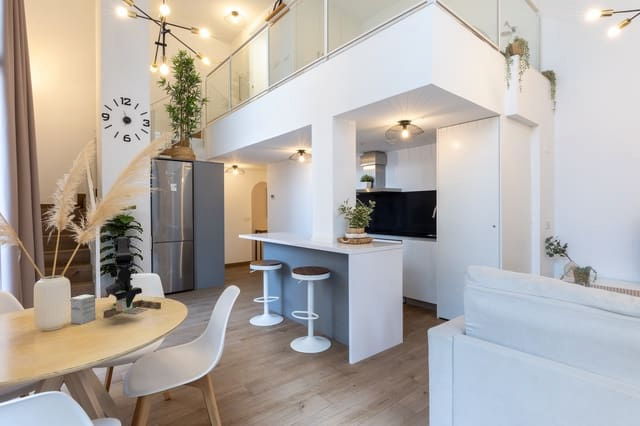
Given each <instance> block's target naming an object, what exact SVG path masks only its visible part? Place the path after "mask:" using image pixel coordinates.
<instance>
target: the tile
mask: <svg viewBox="0 0 640 426" xmlns="http://www.w3.org/2000/svg"><path fill="white" fill-rule="evenodd" d="M148 310H149V308H148V309H147V308H142V307H141V308H140V307H138V308H135V309H131V310H128V311H125V312H123V313H124V314H128V313H129V315H137V313H138V314H141V313H143V312H146V311H148ZM140 312H141V313H140Z"/></svg>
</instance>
